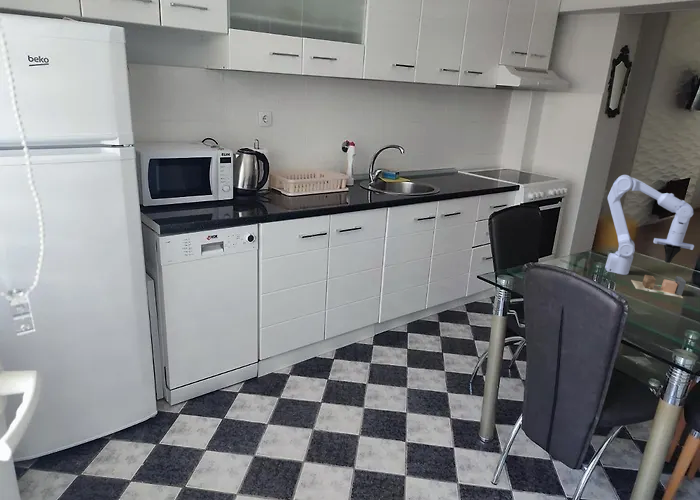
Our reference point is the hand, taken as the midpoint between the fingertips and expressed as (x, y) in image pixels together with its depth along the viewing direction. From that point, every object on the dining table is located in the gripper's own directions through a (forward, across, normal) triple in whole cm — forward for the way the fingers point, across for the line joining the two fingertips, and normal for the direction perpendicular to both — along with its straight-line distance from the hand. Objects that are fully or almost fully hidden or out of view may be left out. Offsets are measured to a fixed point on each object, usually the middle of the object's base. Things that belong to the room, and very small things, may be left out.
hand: (667, 262), depth 208 cm
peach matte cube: (+9, 0, -12) cm, 15 cm away
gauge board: (+10, -4, -12) cm, 16 cm away
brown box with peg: (+9, -8, -12) cm, 17 cm away
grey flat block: (+10, +3, -12) cm, 16 cm away
